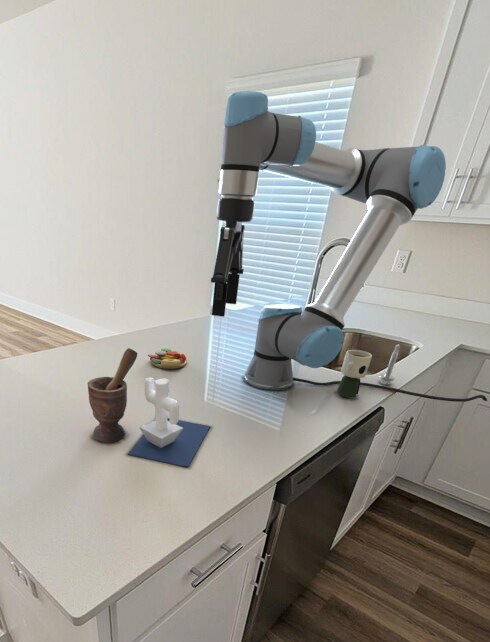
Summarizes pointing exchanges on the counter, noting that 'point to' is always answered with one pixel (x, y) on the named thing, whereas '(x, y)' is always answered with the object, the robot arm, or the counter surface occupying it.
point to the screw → (390, 368)
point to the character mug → (353, 372)
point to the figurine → (161, 414)
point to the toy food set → (168, 359)
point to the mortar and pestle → (110, 400)
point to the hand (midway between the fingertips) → (224, 309)
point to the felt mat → (173, 445)
